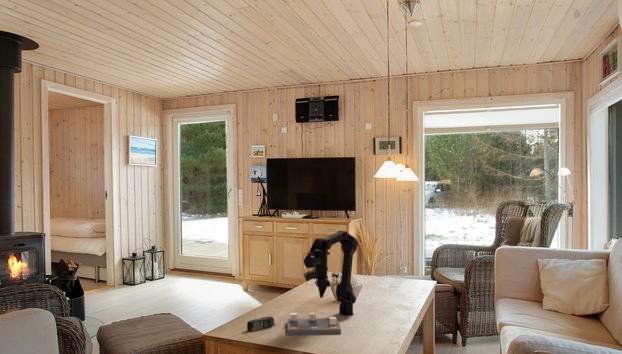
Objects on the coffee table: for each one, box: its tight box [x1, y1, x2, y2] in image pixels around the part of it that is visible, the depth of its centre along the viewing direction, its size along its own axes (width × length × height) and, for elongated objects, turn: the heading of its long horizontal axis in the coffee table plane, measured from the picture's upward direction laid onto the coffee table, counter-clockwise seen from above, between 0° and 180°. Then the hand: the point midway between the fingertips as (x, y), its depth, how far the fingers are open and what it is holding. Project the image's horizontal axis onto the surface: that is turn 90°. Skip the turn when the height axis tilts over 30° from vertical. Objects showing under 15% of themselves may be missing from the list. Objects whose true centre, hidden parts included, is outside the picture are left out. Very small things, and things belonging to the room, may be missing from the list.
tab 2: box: [328, 316, 337, 325], centre depth 199 cm, size 3×2×3 cm
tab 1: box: [290, 312, 298, 321], centre depth 205 cm, size 3×2×3 cm
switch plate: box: [286, 317, 342, 336], centre depth 201 cm, size 24×16×2 cm, turn 94°
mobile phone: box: [246, 316, 276, 333], centre depth 200 cm, size 5×3×15 cm
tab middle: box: [308, 312, 317, 321], centre depth 206 cm, size 3×2×3 cm
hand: (321, 297), depth 205 cm, fingers closed
